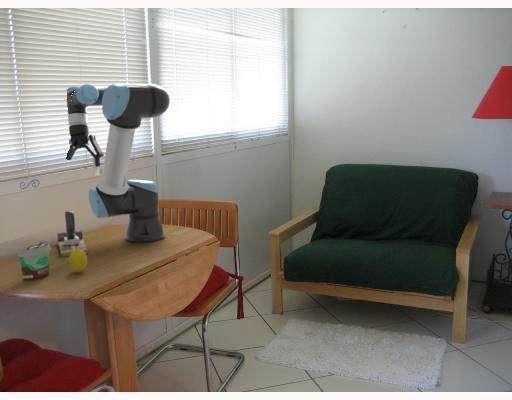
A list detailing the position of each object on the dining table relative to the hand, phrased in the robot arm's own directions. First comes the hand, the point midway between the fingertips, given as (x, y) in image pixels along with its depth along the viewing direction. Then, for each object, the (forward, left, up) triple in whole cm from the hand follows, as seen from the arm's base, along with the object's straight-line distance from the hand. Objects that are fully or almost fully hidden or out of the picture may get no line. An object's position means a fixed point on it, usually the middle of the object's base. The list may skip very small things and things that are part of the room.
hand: (82, 177), depth 220 cm
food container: (-35, +43, -24) cm, 60 cm away
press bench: (-14, +17, -24) cm, 33 cm away
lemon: (-42, +34, -24) cm, 59 cm away
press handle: (-14, +17, -22) cm, 31 cm away
